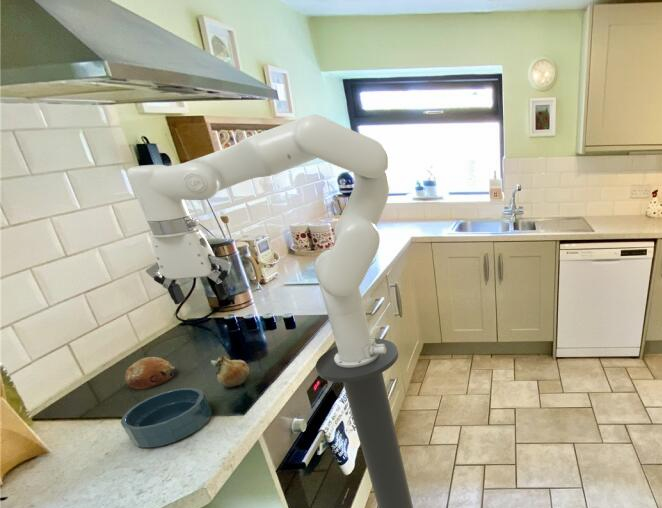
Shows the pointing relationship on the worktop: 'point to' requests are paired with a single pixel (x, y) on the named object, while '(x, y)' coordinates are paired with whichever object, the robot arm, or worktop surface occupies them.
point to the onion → (230, 371)
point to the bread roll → (149, 373)
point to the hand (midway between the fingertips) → (202, 300)
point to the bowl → (166, 417)
